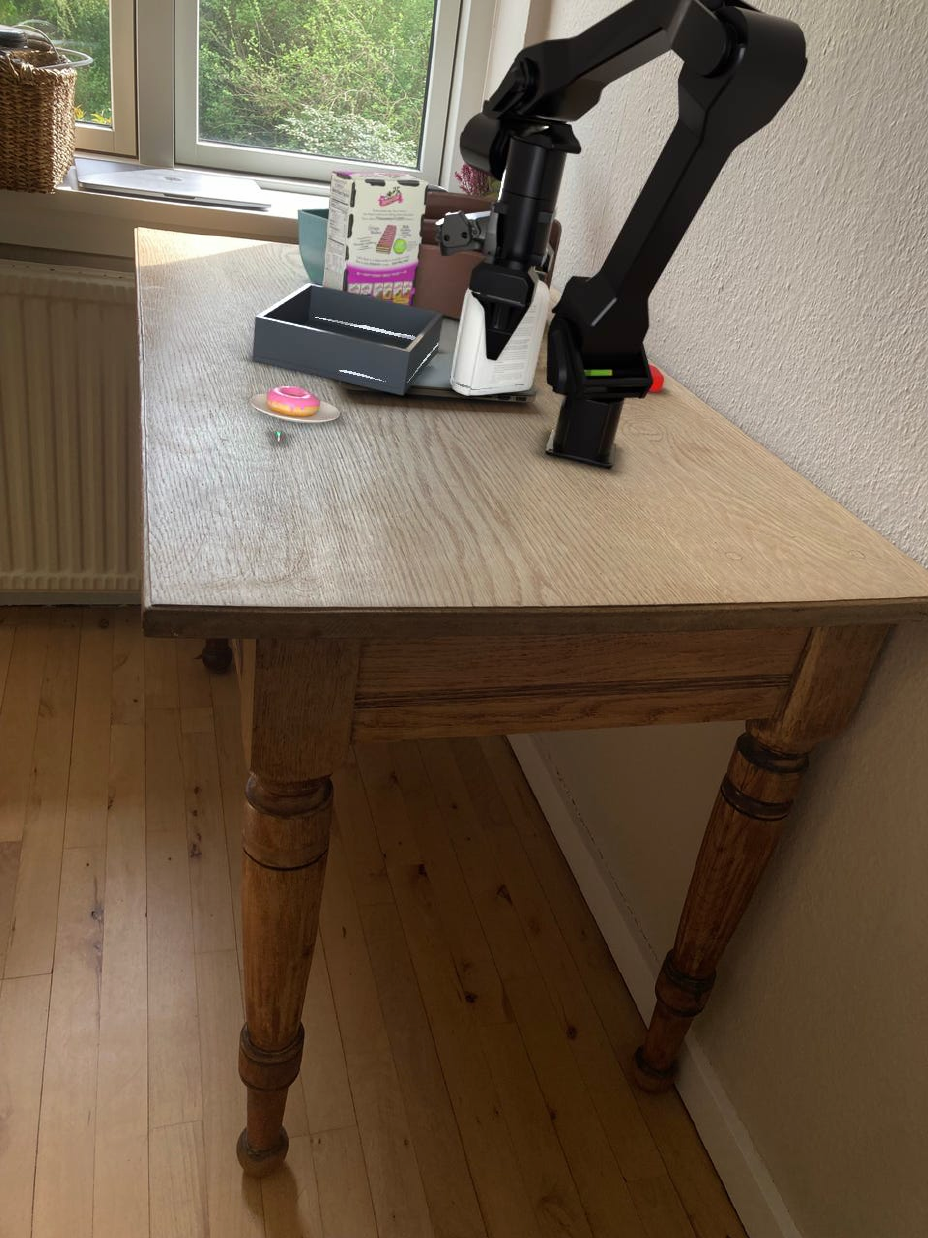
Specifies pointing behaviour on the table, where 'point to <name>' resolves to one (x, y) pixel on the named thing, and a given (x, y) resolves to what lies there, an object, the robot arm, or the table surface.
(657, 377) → the popsicle
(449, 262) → the letter holder
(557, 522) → the table surface
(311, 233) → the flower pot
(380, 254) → the candy bar box
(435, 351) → the tote
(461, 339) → the photo printer
